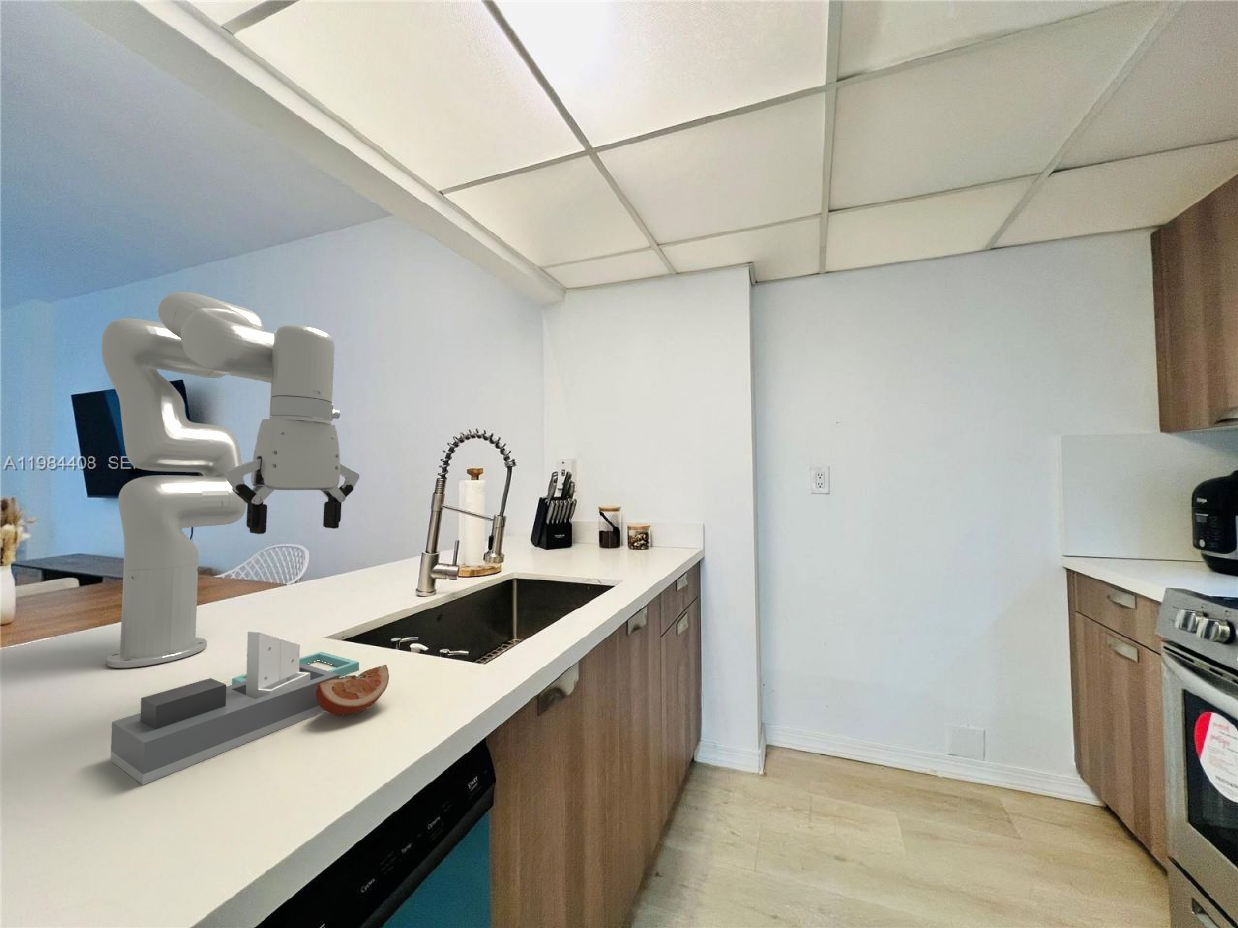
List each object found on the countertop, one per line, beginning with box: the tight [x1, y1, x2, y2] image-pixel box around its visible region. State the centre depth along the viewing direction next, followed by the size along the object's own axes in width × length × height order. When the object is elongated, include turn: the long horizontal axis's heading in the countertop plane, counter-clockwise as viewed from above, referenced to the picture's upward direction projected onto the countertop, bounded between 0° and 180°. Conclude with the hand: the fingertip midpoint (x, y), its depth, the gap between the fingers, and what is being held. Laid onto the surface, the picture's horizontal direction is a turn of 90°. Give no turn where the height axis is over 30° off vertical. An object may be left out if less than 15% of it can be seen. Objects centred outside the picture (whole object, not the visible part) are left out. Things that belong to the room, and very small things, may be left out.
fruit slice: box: [316, 664, 390, 717], centre depth 60 cm, size 8×7×5 cm
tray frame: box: [231, 651, 360, 685], centre depth 72 cm, size 11×13×1 cm
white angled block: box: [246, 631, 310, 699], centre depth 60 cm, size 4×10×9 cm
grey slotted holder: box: [110, 663, 341, 786], centre depth 56 cm, size 9×19×6 cm, turn 151°
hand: (296, 530), depth 68 cm, fingers open, 9 cm apart
